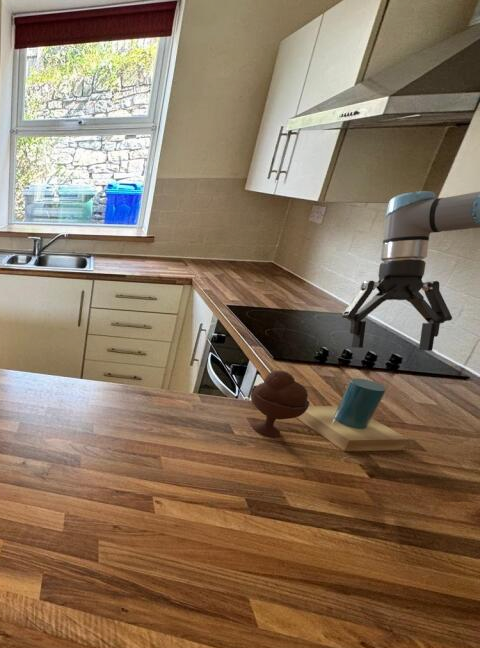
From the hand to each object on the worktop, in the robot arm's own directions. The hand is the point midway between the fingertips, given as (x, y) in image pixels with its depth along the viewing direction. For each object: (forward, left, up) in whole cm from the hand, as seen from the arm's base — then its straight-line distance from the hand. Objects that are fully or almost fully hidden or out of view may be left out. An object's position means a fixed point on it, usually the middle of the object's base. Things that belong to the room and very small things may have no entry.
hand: (390, 348), depth 98 cm
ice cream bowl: (-9, +33, -18) cm, 38 cm away
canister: (-10, +14, -14) cm, 22 cm away
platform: (-10, +14, -17) cm, 24 cm away
